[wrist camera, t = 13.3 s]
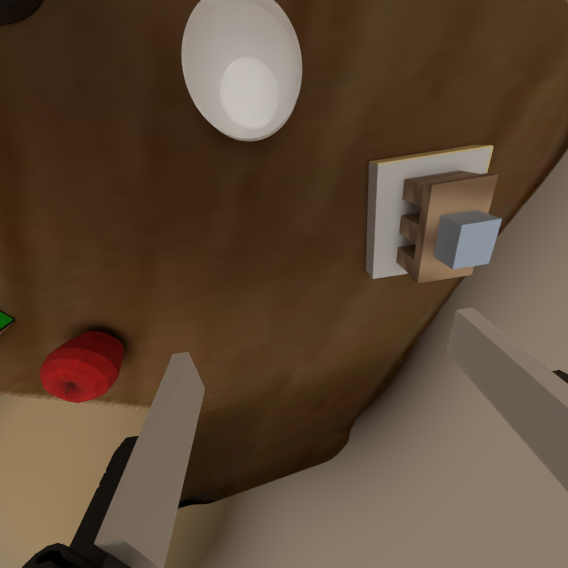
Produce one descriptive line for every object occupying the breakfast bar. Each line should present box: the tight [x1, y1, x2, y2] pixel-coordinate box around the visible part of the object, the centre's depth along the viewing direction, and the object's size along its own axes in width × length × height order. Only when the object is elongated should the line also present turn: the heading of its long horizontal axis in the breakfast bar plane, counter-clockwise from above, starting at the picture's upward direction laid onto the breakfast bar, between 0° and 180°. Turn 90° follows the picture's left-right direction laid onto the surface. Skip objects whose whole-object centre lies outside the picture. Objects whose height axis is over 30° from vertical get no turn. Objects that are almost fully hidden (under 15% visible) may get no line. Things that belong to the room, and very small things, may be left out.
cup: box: [182, 0, 302, 141], centre depth 24 cm, size 9×9×12 cm
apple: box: [39, 331, 124, 403], centre depth 40 cm, size 10×10×11 cm
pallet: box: [396, 170, 499, 283], centre depth 32 cm, size 12×7×6 cm, turn 8°
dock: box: [366, 145, 493, 279], centre depth 36 cm, size 16×14×3 cm
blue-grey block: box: [434, 210, 502, 269], centre depth 28 cm, size 5×4×4 cm
